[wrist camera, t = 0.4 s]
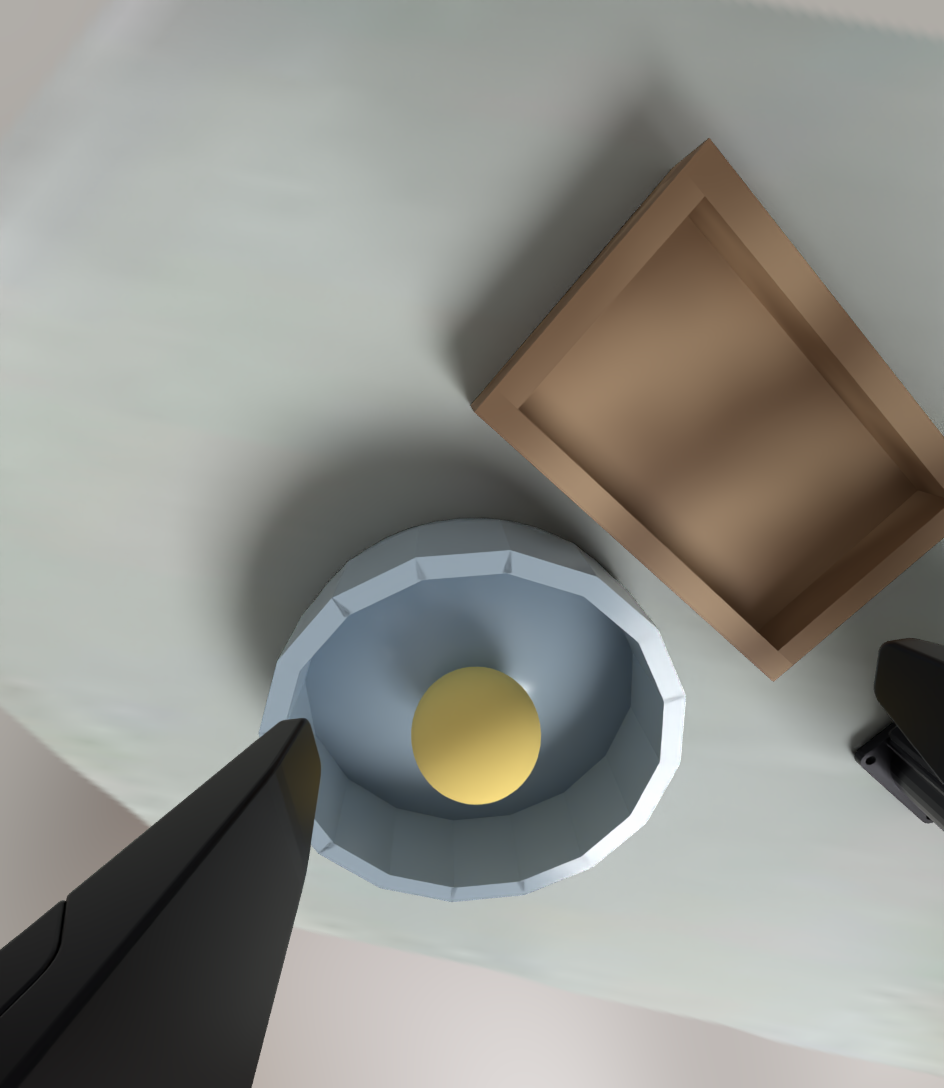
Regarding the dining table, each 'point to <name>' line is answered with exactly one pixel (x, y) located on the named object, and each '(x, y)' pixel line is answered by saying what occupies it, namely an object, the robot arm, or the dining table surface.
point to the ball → (476, 735)
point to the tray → (727, 420)
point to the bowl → (494, 642)
